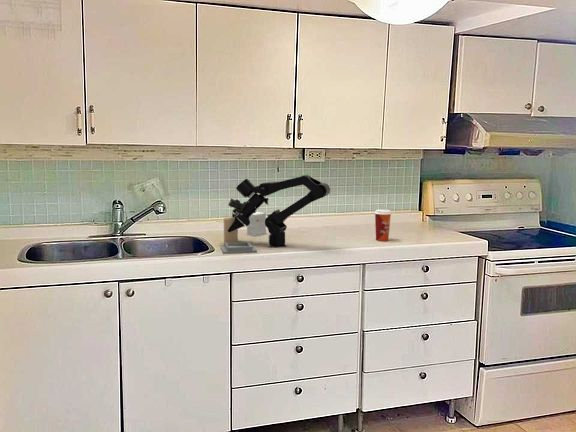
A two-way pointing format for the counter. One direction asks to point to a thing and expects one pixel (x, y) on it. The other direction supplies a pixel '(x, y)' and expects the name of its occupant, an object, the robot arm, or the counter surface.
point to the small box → (257, 224)
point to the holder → (238, 248)
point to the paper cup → (382, 224)
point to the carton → (229, 236)
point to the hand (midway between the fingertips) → (227, 230)
